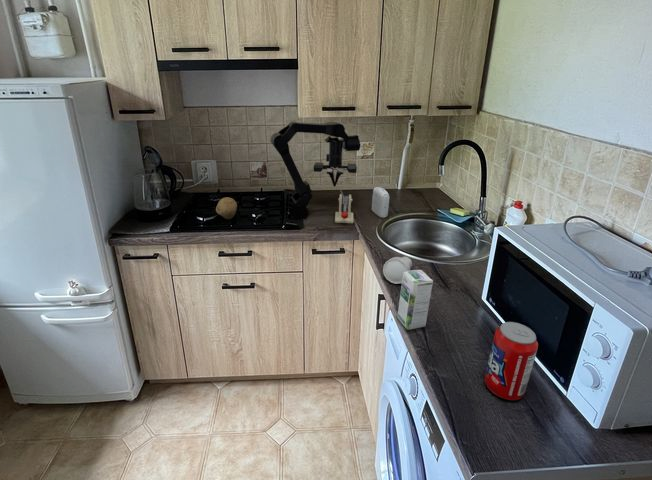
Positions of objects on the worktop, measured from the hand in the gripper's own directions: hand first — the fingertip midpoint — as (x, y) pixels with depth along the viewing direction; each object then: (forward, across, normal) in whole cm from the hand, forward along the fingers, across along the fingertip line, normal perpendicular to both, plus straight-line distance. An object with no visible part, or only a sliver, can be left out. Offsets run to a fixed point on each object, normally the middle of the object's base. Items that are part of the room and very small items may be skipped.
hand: (334, 186), depth 170 cm
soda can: (+13, -41, +96) cm, 105 cm away
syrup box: (+13, -24, +75) cm, 80 cm away
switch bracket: (+13, -5, +6) cm, 15 cm away
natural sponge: (+13, +46, +13) cm, 50 cm away
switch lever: (+7, -5, +9) cm, 13 cm away
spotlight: (+13, -23, +52) cm, 59 cm away
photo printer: (+14, -21, -2) cm, 25 cm away
